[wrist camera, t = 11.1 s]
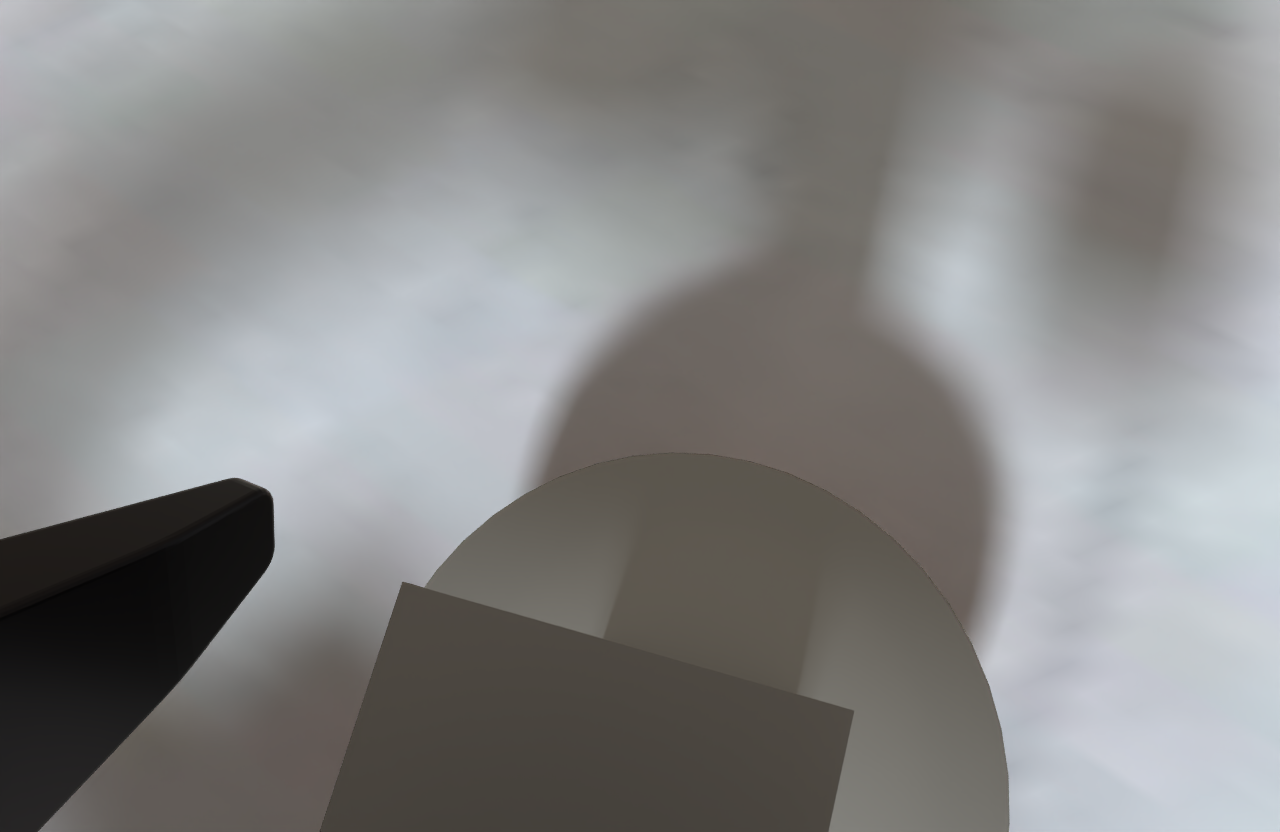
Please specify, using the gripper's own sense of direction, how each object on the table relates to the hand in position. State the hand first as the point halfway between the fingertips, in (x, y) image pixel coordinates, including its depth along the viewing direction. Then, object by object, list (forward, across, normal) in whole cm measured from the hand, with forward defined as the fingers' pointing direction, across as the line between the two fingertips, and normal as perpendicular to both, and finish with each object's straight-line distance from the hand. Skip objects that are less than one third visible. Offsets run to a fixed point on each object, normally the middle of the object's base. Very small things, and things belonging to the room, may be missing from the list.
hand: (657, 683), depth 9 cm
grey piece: (+5, 0, +7) cm, 9 cm away
